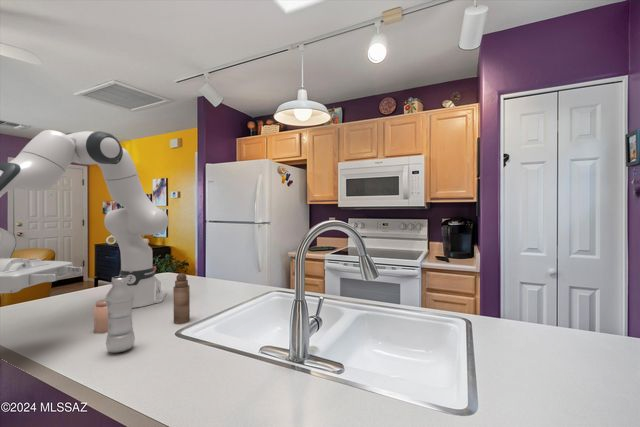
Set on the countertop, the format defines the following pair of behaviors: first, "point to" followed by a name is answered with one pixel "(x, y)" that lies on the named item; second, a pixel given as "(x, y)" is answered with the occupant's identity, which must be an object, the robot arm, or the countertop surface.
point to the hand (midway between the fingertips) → (69, 273)
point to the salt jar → (100, 317)
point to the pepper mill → (181, 299)
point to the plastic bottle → (119, 316)
